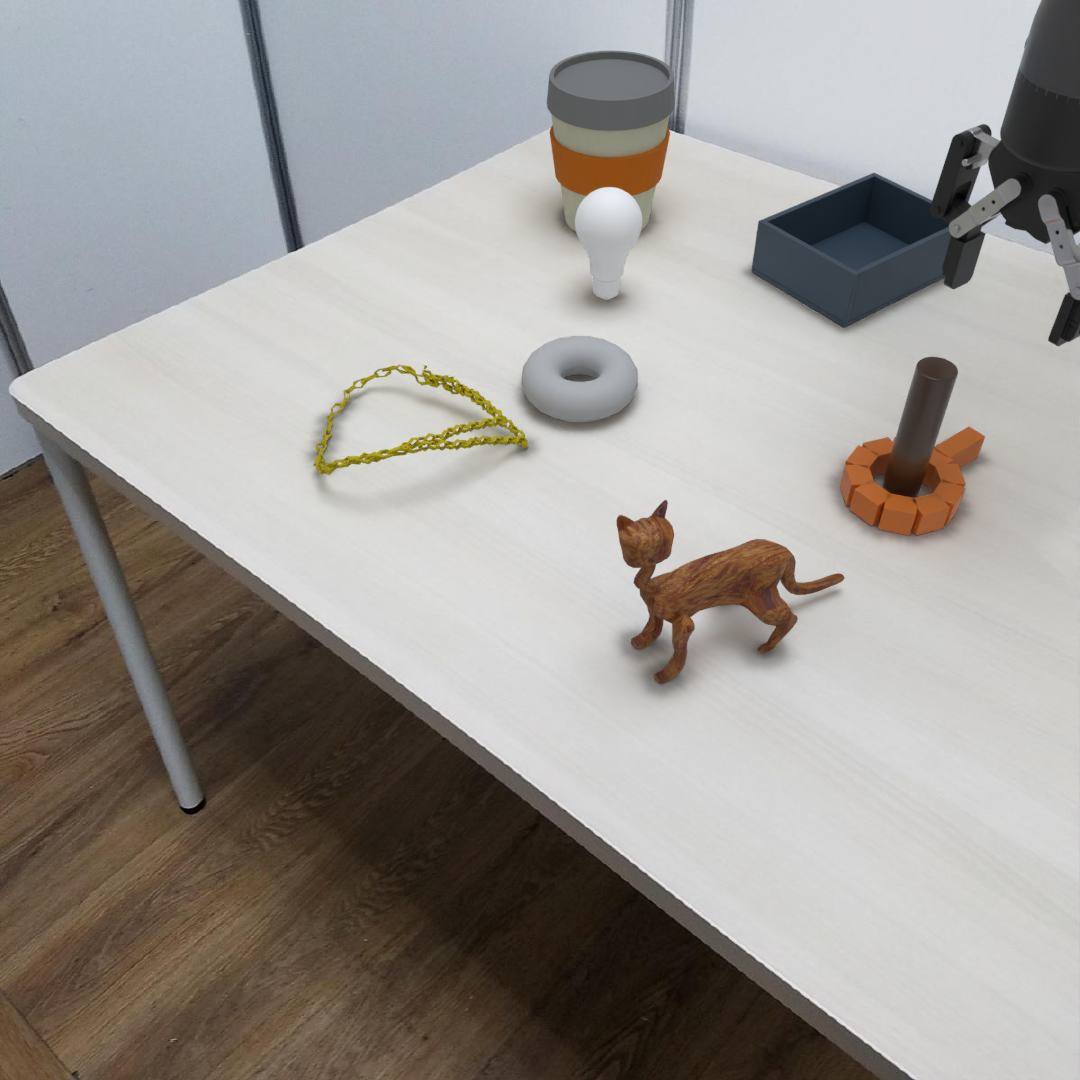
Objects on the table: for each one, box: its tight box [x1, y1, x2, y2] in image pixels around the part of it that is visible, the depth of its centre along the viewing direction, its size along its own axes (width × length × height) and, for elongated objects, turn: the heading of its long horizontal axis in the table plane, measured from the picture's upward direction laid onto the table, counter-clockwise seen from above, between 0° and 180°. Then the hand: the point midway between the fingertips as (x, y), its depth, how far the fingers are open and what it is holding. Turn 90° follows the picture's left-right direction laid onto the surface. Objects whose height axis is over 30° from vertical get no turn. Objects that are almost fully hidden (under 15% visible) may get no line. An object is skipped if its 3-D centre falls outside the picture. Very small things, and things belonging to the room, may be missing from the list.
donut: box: [520, 335, 639, 423], centre depth 91 cm, size 10×4×10 cm
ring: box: [839, 426, 986, 536], centre depth 82 cm, size 13×9×2 cm
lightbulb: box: [575, 187, 642, 301], centre depth 99 cm, size 6×6×11 cm
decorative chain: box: [312, 364, 529, 476], centre depth 86 cm, size 16×15×5 cm
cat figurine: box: [616, 499, 846, 684], centre depth 68 cm, size 18×7×14 cm, turn 114°
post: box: [880, 356, 959, 498], centre depth 78 cm, size 3×3×12 cm
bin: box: [751, 172, 951, 328], centre depth 103 cm, size 16×12×6 cm
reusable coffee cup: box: [546, 50, 676, 233], centre depth 108 cm, size 13×12×15 cm
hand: (1006, 311), depth 72 cm, fingers open, 8 cm apart
